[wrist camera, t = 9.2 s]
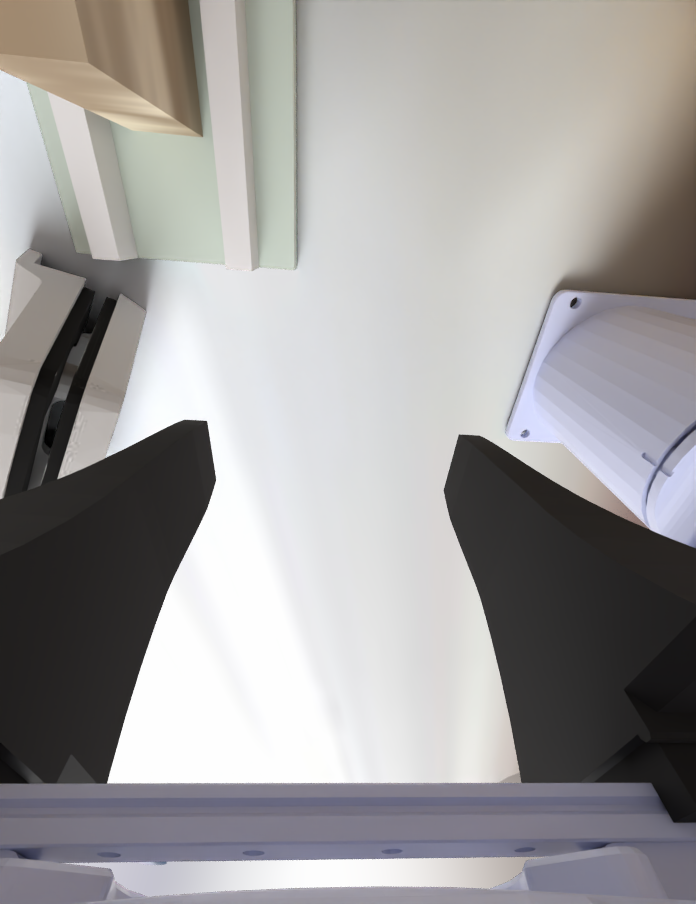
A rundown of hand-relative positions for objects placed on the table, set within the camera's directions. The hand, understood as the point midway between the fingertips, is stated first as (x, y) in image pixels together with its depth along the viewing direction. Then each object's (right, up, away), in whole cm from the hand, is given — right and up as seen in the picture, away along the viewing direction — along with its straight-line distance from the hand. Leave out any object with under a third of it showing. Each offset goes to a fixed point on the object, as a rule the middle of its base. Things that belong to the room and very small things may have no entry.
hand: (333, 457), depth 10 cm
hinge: (-15, +2, +10) cm, 18 cm away
